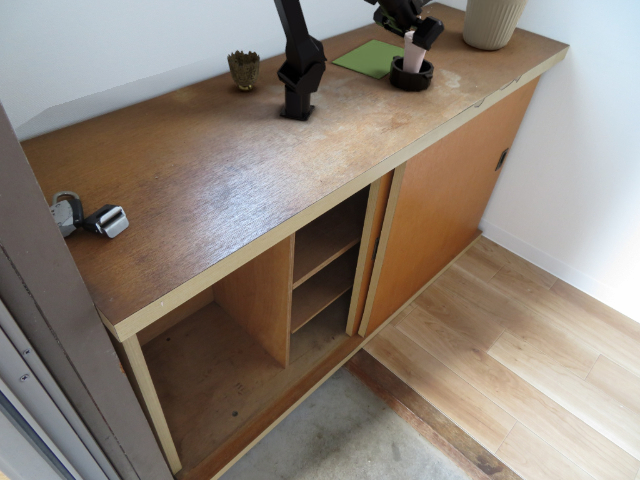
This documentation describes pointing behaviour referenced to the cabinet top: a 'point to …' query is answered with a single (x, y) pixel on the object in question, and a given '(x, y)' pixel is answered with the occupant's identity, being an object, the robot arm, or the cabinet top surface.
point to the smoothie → (412, 54)
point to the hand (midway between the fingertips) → (420, 44)
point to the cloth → (371, 58)
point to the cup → (244, 69)
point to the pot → (410, 75)
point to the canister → (491, 22)
